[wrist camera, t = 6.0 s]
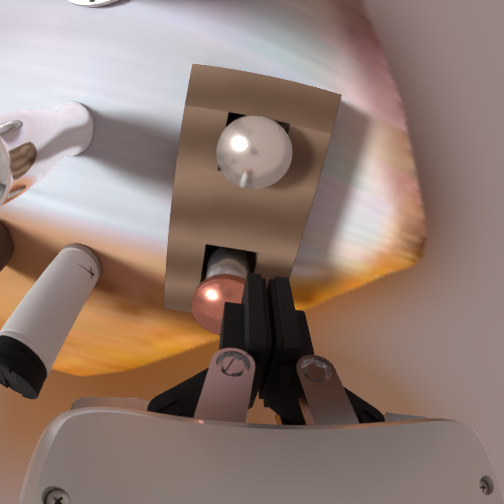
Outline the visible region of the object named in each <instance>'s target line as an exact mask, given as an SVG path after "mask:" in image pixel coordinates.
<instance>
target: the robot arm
mask: <svg viewBox="0 0 504 504" xmlns="http://www.w3.org/2000/svg"><path fill="white" fill-rule="evenodd" d="M67 1H69V2H70V3H72V4H75V5H78V6H84V7H98V6H103V5H108V4H111V3H114V2H116V1H119V0H96V1H95V0H67ZM258 391H259V399H264V407H270V408H271V409H272V410H273V411H274V412H276V414H275V420H276V424H277V425H270V424H252V423H246V419H247V413H248V410H249V409H250V408H251V407H252V406H253V404H254V401H255V398H256V395H257V392H258ZM65 492H66V493H65ZM18 504H504V496H503V493H502V489H501V487H500V483H499V480H498V477H497V475H496V472H495V469H494V467H493V464H492V462H491V459H490V457H489V455H488V452H487V450H486V448H485V446H484V444H483V442H482V440H481V439H480V437H479V435H478V434H477V433H476V431H475V430H474V429H473V428H472V427H470V426H469V425H467V424H465V423H463V422H460V421H456V420H452V419H443V418H427V417H421V416H412V415H403V414H395V413H388V412H386V413H385V414H384V415H382V414H381V412H380V411H378V410H377V409H376V408H374V407H373V406H371V405H370V404H368V403H367V402H366V401H364V400H363V399H361V398H360V397H358V396H357V395H355V394H353V393H352V392H351V391H349V390H348V389H346V388H345V387H343V385H342V383H341V381H340V378H339V376H338V374H337V372H336V369H335V368H334V366H333V364H332V363H331V362H330V361H328V360H327V359H325V358H323V357H320V356H318V355H314V351H313V346H312V342H311V338H310V333H309V329H308V325H307V321H306V316H305V313H304V311H300V310H295V307H294V302H293V297H292V292H291V287H290V282H289V278H286V277H278V276H275V277H274V279H269V281H268V285H267V286H266V279H265V278H261V274H256V273H248V272H247V275H246V280H245V285H244V290H243V295H242V300H241V304H239V303H231V302H225V304H224V310H223V316H222V324H221V332H220V344H219V351H218V352H216V353H215V354H214V355H213V357H212V359H211V363H210V366H209V368H207V369H205V370H204V371H202V372H200V373H198V374H197V375H195V376H193V377H191V378H189V379H188V380H186V381H184V382H182V383H180V384H179V385H177V386H175V387H173V388H171V389H169V390H167V391H165V392H164V393H162V394H160V395H158V396H156V397H155V398H153V399H152V400H151V401H141V399H140V398H107V397H82V398H80V399H78V400H76V401H75V402H74V403H73V404H72V406H71V409H70V410H69V411H66V412H64V413H61V414H59V415H57V416H56V417H55V418H54V419H53V420H52V421H51V422H50V423H49V424H48V426H47V427H46V429H45V430H44V432H43V434H42V436H41V438H40V440H39V442H38V444H37V446H36V449H35V451H34V453H33V456H32V458H31V461H30V464H29V467H28V470H27V473H26V476H25V479H24V483H23V487H22V491H21V494H20V499H19V503H18Z"/></svg>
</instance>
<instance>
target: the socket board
mask: <svg viewBox="0 0 504 504" xmlns="http://www.w3.org/2000/svg"><path fill="white" fill-rule="evenodd" d="M340 99H341V95H340V94H337V93H334V92H330V91H327V90H323V89H320V88H316V87H312V86H309V85H305V84H301V83H297V82H293V81H288V80H284V79H280V78H275V77H271V76H266V75H261V74H256V73H251V72H245V71H239V70H234V69H227V68H221V67H214V66H207V65H199V64H192V70H191V75H190V80H189V85H188V91H187V96H186V102H185V108H184V114H183V120H182V127H181V133H180V140H179V147H178V154H177V162H176V169H175V177H174V186H173V194H172V204H171V213H170V224H169V235H168V247H167V260H166V275H165V293H164V308H165V309H171V310H177V311H183V312H189V313H192V301H193V296H194V292H195V290H196V288H197V286H198V285H199V284H200V283H201V282H202V281H204V280H205V279H206V274H207V267H208V261H209V257H205V252H206V246H207V244H209V245H215V246H221V247H228V248H234V249H240V250H246V251H250V255H249V273H256V274H261V278H265V279H266V286H267V285H268V281H269V279H274V277H275V276H278V277H286V278H289V277H290V274H291V271H292V268H293V265H294V261H295V258H296V255H297V252H298V249H299V245H300V242H301V239H302V236H303V232H304V229H305V226H306V222H307V219H308V216H309V212H310V209H311V205H312V202H313V199H314V195H315V192H316V188H317V185H318V181H319V178H320V174H321V171H322V167H323V163H324V160H325V156H326V153H327V149H328V145H329V141H330V138H331V134H332V130H333V126H334V123H335V119H336V115H337V111H338V107H339V103H340ZM230 112H232V113H238V114H244V115H262V116H265V117H268V118H270V119H272V120H274V121H279V122H280V126H281V127H282V128H283V129H284V130H285V132H286V133H287V135H288V136H289V138H290V141H291V145H292V160H291V164H290V166H289V168H288V170H287V172H286V173H285V175H284V176H283V177H282V178H281V179H280V180H279V181H277V182H276V183H274V184H272V185H270V186H268V187H264V188H259V189H249V188H244V187H241V186H238V185H236V184H234V183H233V182H231V181H230V180H229V179H228V178H227V177H226V176H225V175H224V174H223V172H222V171H221V169H220V167H219V165H218V161H217V153H216V151H217V145H218V141H219V139H220V136H221V134H222V132H223V131H224V129H225V128H226V127H227V124H228V119H229V114H230Z"/></svg>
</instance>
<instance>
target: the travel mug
mask: <svg viewBox="0 0 504 504" xmlns="http://www.w3.org/2000/svg"><path fill="white" fill-rule="evenodd" d="M100 275H101V266H100V263H99V260H98V259H97V257H96V255H95V254H94V253H93V252H92V251H91V250H90V249H88V248H87V247H85V246H83V245H80V244H69V245H67V246H65V247H64V248H63V249H62V250H61V251H60V253H59V254H58V255H57V256H56V257H55V258H54V260H53V261H52V262H51V263H50V265H49V266H48V267H47V268H46V269H45V271H44V272H43V273H42V275H41V276H40V277H39V278H38V280H37V281H36V282H35V283H34V285H33V286H32V287H31V289H30V290H29V291H28V293H27V294H26V295H25V297H24V298H23V299H22V301H21V302H20V303H19V305H18V306H17V308H16V309H15V310H14V312H13V313H12V315H11V316H10V317H9V319H8V320H7V322H6V323H5V325H4V326H3V328H2V329H1V331H0V383H1V384H2V385H3V386H5V387H6V388H8V387H10V388H11V389H12V390H14V391H16V392H18V393H20V394H22V396H23V397H26V398H28V399H36V398H37V397H38V395H39V393H40V390H41V388H42V385H43V383H44V381H45V379H46V378H47V376H48V374H49V372H50V370H51V368H52V366H53V363H54V361H55V359H56V357H57V355H58V353H59V351H60V349H61V347H62V345H63V343H64V341H65V339H66V337H67V335H68V333H69V331H70V330H71V328H72V326H73V324H74V322H75V320H76V318H77V316H78V315H79V313H80V311H81V309H82V307H83V305H84V304H85V302H86V300H87V298H88V297H89V295H90V293H91V291H92V290H93V288H94V286H95V284H96V283H97V281H98V279H99V278H100Z"/></svg>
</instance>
